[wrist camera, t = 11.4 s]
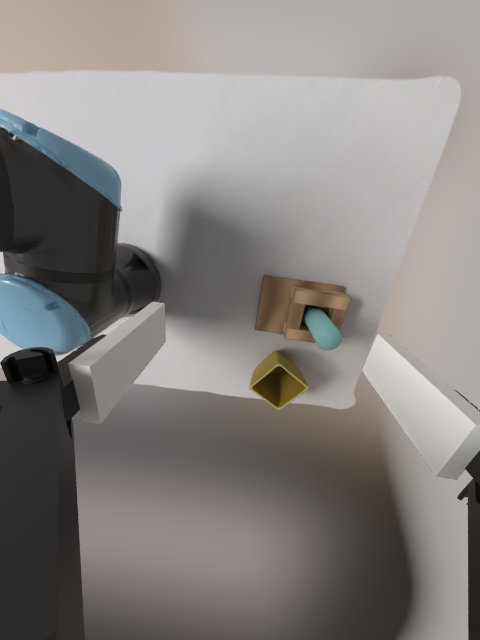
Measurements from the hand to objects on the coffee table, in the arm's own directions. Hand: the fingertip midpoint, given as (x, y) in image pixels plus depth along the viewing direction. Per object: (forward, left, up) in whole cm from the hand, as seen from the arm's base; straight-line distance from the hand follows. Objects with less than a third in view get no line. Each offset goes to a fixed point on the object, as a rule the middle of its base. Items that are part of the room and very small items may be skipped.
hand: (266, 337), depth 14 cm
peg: (+12, -9, -32) cm, 35 cm away
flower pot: (+7, -24, -33) cm, 41 cm away
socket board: (+9, -9, -33) cm, 35 cm away
